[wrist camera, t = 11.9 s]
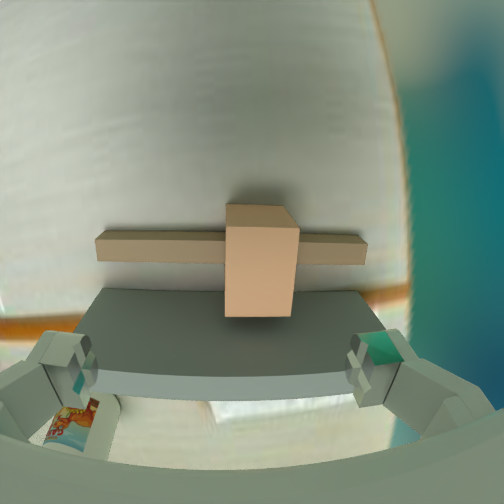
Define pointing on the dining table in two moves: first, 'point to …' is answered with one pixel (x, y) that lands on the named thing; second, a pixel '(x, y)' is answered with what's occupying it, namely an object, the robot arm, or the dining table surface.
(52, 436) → the milk bottle
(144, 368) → the cleat board
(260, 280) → the block
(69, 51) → the dining table surface
